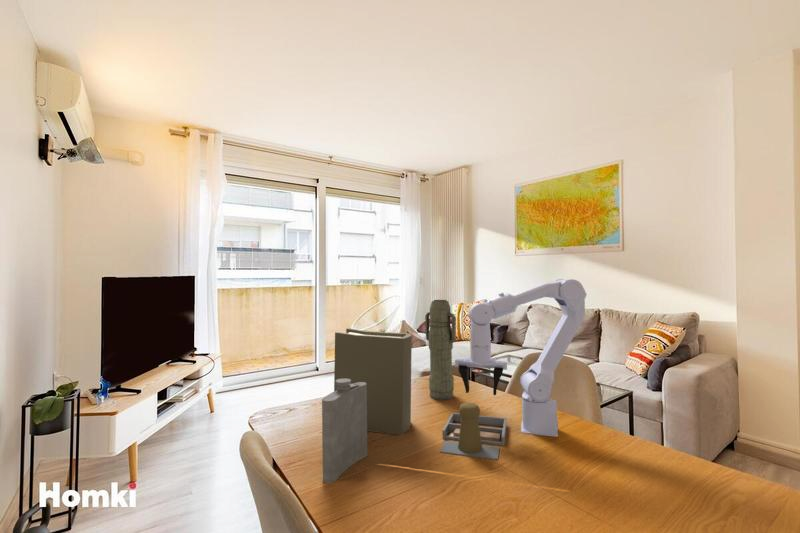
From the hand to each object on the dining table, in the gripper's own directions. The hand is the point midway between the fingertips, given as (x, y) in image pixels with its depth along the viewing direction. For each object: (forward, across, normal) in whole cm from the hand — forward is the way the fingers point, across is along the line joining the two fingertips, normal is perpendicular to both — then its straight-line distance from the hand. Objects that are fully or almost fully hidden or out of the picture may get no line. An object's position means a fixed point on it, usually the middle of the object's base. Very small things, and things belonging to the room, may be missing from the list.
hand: (481, 393), depth 111 cm
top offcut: (+10, -1, -7) cm, 12 cm away
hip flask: (+11, -29, -30) cm, 43 cm away
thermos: (+11, -17, +27) cm, 34 cm away
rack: (+10, -1, -3) cm, 11 cm away
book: (+11, -30, -6) cm, 33 cm away
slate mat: (+10, -2, -15) cm, 18 cm away
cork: (+10, -2, -14) cm, 17 cm away
